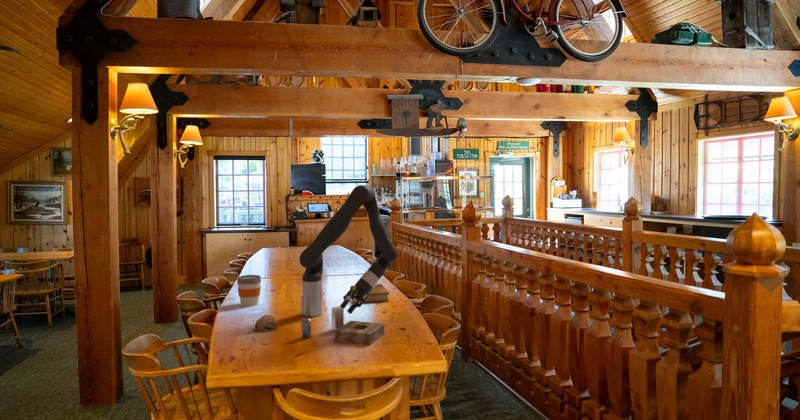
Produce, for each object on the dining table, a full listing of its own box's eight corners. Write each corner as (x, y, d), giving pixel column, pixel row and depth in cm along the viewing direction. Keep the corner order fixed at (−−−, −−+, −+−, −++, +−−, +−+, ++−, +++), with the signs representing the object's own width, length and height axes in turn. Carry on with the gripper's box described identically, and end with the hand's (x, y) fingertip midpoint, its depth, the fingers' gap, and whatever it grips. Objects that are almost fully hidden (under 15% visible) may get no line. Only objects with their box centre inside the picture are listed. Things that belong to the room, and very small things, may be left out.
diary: (350, 295, 304) (350, 285, 304) (381, 293, 308) (381, 284, 308) (355, 304, 282) (355, 293, 282) (389, 302, 286) (389, 292, 286)
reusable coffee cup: (257, 307, 275) (257, 279, 274) (234, 307, 276) (233, 279, 275) (264, 301, 288) (263, 274, 287) (241, 301, 288) (241, 274, 287)
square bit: (332, 329, 234) (331, 307, 233) (340, 328, 236) (339, 306, 235) (335, 331, 230) (335, 309, 230) (343, 330, 232) (343, 308, 232)
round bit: (300, 338, 221) (299, 319, 221) (304, 335, 225) (304, 317, 225) (308, 339, 220) (307, 320, 220) (312, 336, 224) (312, 318, 223)
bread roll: (257, 339, 232) (258, 325, 228) (252, 325, 240) (253, 311, 236) (279, 336, 236) (280, 322, 233) (273, 322, 244) (275, 308, 241)
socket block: (334, 341, 217) (334, 330, 217) (350, 330, 232) (350, 320, 232) (370, 345, 212) (370, 334, 211) (384, 333, 227) (384, 323, 226)
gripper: (355, 275, 244) (332, 302, 239) (368, 280, 232) (345, 308, 227) (365, 285, 247) (343, 312, 242) (379, 290, 235) (357, 319, 230)
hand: (344, 310), depth 234 cm, fingers open, 8 cm apart
